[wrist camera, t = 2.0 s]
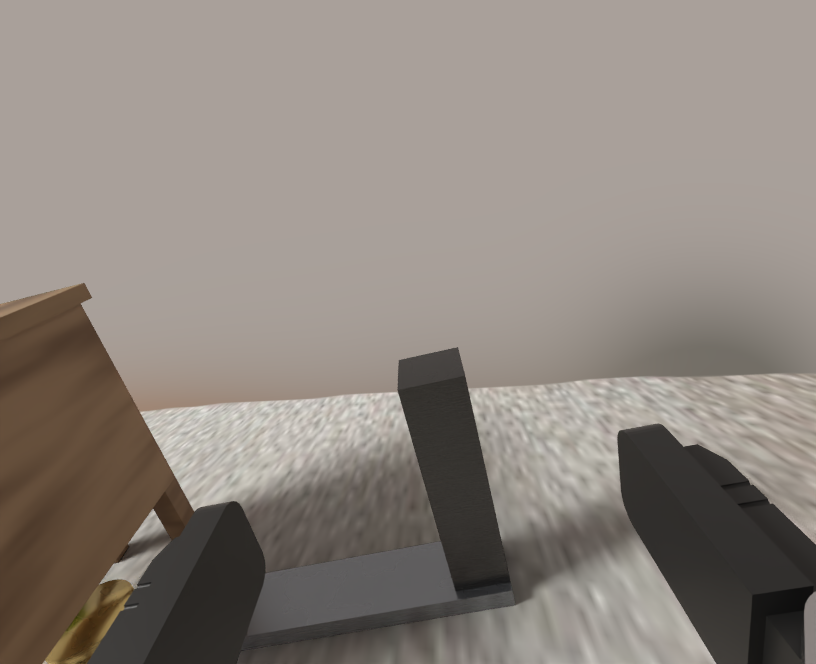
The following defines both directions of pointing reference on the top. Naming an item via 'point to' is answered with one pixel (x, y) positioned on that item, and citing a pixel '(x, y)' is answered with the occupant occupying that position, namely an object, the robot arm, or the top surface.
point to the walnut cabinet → (67, 470)
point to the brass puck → (91, 623)
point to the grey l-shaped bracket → (412, 566)
